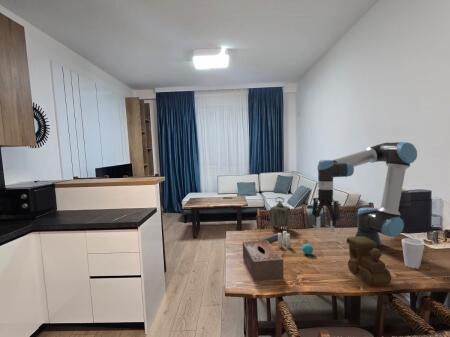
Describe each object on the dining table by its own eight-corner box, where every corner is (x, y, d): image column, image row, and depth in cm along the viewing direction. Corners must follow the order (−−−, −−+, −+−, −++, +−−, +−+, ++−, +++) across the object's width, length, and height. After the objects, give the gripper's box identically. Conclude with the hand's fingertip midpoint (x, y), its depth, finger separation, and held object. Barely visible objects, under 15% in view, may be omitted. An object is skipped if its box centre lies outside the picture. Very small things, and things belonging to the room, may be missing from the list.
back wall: (280, 237, 179) (280, 233, 179) (260, 245, 167) (260, 240, 167) (278, 237, 181) (278, 233, 181) (258, 244, 168) (258, 240, 168)
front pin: (290, 247, 162) (290, 234, 161) (288, 248, 161) (288, 235, 160) (287, 246, 164) (287, 233, 163) (285, 247, 162) (285, 234, 162)
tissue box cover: (243, 259, 148) (242, 242, 147) (267, 257, 150) (267, 240, 149) (254, 282, 122) (253, 261, 122) (283, 279, 124) (283, 259, 124)
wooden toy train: (344, 268, 133) (344, 237, 132) (365, 266, 134) (365, 235, 133) (370, 289, 113) (371, 252, 112) (394, 287, 114) (395, 251, 113)
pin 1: (282, 246, 164) (282, 233, 163) (280, 247, 162) (280, 234, 162) (279, 245, 166) (279, 232, 165) (277, 246, 164) (277, 233, 164)
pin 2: (287, 244, 167) (287, 231, 166) (285, 245, 165) (285, 232, 165) (284, 243, 169) (284, 230, 168) (282, 244, 167) (282, 231, 167)
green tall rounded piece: (291, 229, 197) (290, 197, 195) (287, 232, 190) (286, 199, 188) (273, 226, 205) (272, 195, 203) (268, 229, 198) (268, 197, 195)
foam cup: (419, 262, 137) (420, 239, 136) (426, 271, 128) (427, 245, 127) (398, 260, 140) (399, 237, 139) (404, 268, 131) (405, 243, 130)
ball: (315, 254, 151) (315, 244, 150) (309, 257, 147) (309, 247, 147) (306, 251, 156) (306, 241, 155) (300, 254, 152) (300, 244, 151)
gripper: (305, 187, 145) (305, 227, 147) (340, 191, 129) (340, 236, 131) (312, 186, 150) (312, 224, 152) (347, 189, 134) (347, 233, 136)
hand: (325, 229), depth 141 cm, fingers open, 8 cm apart
